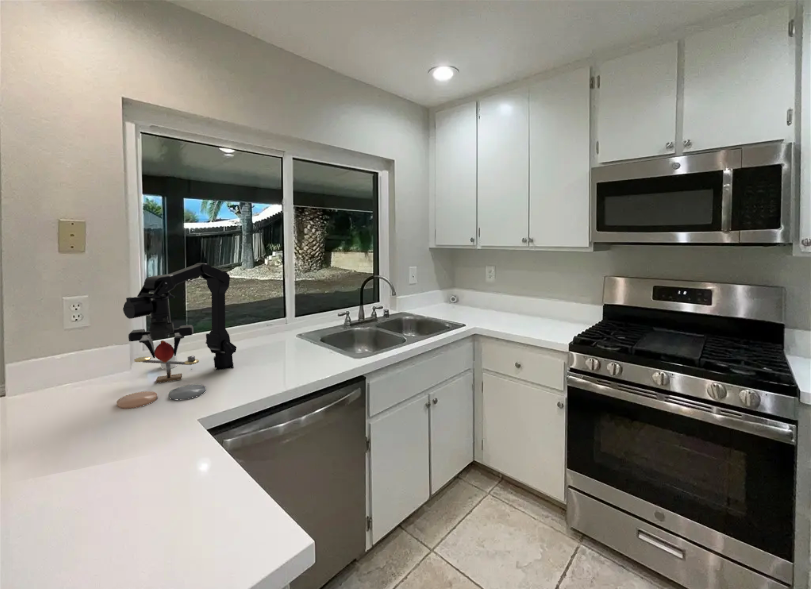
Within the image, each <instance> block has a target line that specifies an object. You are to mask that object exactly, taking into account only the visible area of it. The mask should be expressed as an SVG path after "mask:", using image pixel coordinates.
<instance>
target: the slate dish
mask: <svg viewBox="0 0 811 589" xmlns="http://www.w3.org/2000/svg"><path fill="white" fill-rule="evenodd" d="M205 391H206V392H207V389H206V386H205V385H204V384H197V383H196V384H187V385H181V386H179V387H176V388H174V389H172V390H170V391H169V393H168V398H169V397H170V398H171V399H170V398H169V399H170V400H172V399H178V400H177V401H181V400H180V399H187V400H189V399H188V398H192V397H196V396H198V397H200V396H199V395H201V394H203V393H204V392H205ZM206 392H205V393H206ZM205 393H204V394H205ZM204 394H203V395H204ZM201 396H202V395H201ZM196 398H197V397H196ZM192 399H193V398H192Z"/></svg>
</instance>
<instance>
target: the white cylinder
mask: <svg viewBox="0 0 811 589" xmlns="http://www.w3.org/2000/svg"><path fill="white" fill-rule="evenodd" d="M169 361H178V352H177V353H176V356H174V355H173V357H172V358H171V359H170V360H169ZM176 366H177V367H178V364H170V367H171V369H174V368H173V367H175V368H177V367H176ZM160 367H161V369H162V368H166V364H163V363H160Z"/></svg>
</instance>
